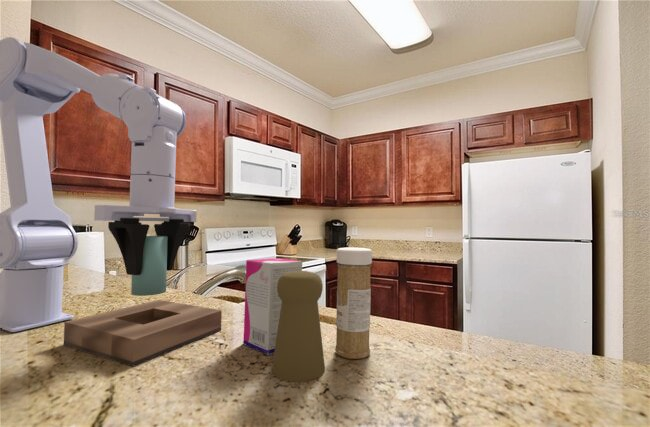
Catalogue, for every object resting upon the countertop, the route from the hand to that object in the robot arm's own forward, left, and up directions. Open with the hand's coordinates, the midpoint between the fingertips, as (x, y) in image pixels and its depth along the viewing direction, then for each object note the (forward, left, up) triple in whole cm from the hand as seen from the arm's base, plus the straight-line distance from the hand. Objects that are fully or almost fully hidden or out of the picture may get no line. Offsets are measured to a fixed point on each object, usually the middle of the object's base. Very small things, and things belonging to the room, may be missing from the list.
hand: (150, 272), depth 46 cm
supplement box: (+17, +6, -9) cm, 20 cm away
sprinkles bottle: (+28, +8, -9) cm, 31 cm away
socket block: (0, 0, -9) cm, 9 cm away
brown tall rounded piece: (+24, +1, -9) cm, 26 cm away
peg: (0, 0, -3) cm, 3 cm away
